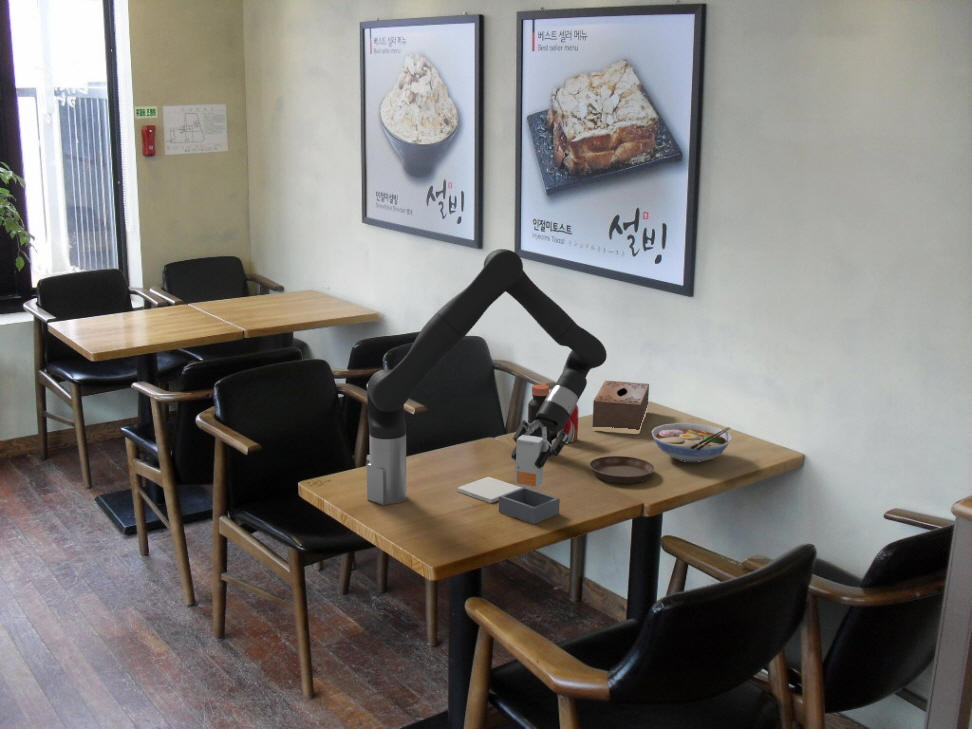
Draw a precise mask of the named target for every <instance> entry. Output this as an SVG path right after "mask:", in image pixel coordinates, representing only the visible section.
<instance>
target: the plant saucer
mask: <svg viewBox="0 0 972 729" xmlns="http://www.w3.org/2000/svg"><path fill="white" fill-rule="evenodd" d="M588 466H589V467H590V469H591V472H593V474H594V475H595V476H596V477H597V478H598V479H600V480H602V481H606V482H609V483H613V484H614V483H615V484H637V483H642V482H643V481H645V480H647V479H648V478H649V477H650V476H651V475H652V474H653V472H654V470H655V466H654V464H653V463H651V462H649V461H648V460H645V459H642V458H638V457H632V456H625V455H623V456H621V455H607V456H602V457H598V458H594V459H593V460H591V461H590V462H589V465H588Z"/></svg>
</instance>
